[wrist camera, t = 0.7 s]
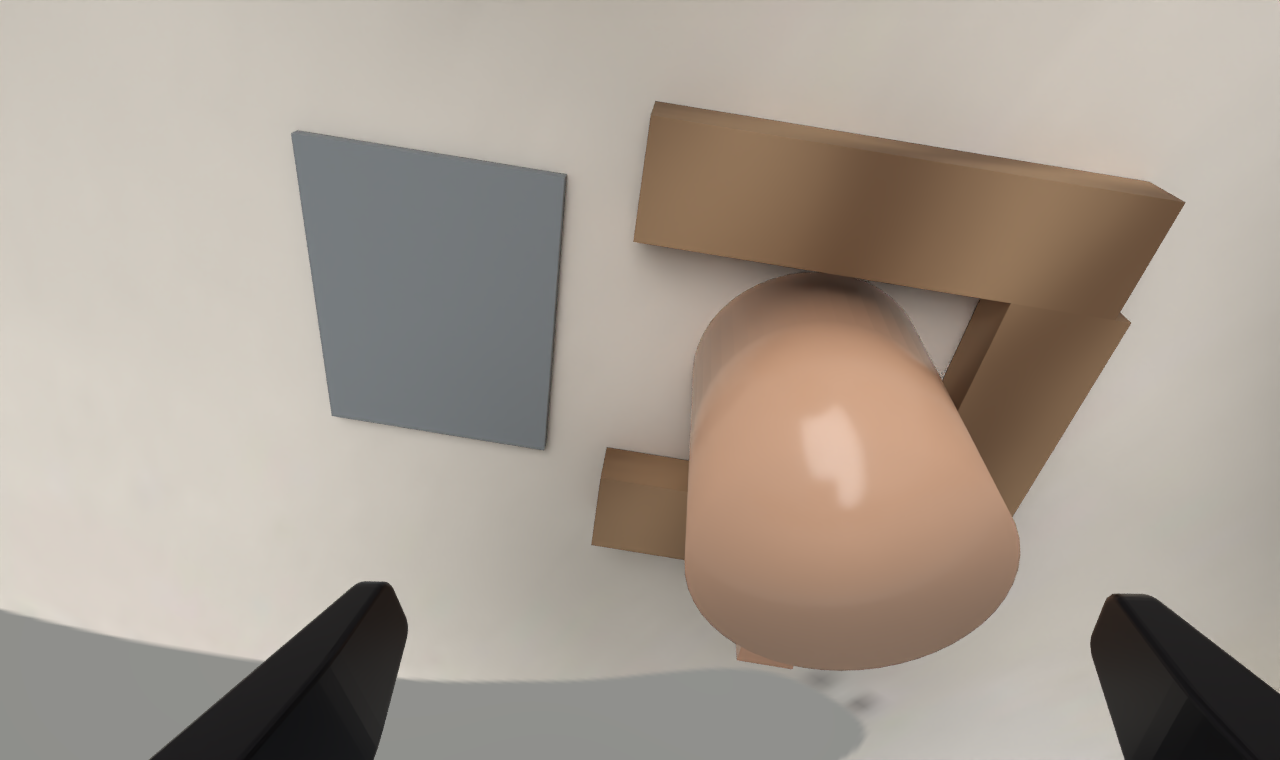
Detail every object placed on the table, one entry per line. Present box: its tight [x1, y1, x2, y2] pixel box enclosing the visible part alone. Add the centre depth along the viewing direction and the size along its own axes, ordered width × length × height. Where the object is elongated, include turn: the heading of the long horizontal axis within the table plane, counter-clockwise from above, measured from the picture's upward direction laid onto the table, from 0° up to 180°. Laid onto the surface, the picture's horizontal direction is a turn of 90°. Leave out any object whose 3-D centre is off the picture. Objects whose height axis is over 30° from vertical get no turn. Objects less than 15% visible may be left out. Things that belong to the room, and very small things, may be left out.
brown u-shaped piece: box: [591, 101, 1185, 560], centre depth 20 cm, size 12×14×2 cm
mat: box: [291, 130, 567, 450], centre depth 20 cm, size 7×9×1 cm
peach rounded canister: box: [685, 272, 1020, 671], centre depth 18 cm, size 10×7×8 cm
